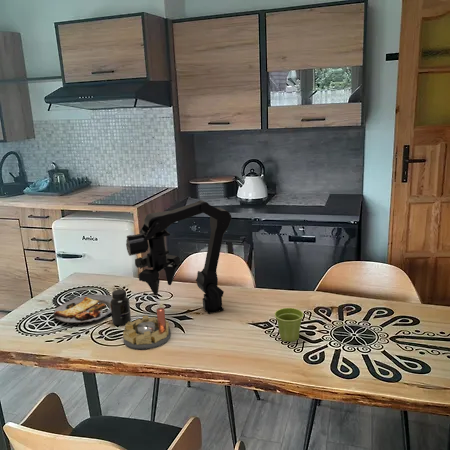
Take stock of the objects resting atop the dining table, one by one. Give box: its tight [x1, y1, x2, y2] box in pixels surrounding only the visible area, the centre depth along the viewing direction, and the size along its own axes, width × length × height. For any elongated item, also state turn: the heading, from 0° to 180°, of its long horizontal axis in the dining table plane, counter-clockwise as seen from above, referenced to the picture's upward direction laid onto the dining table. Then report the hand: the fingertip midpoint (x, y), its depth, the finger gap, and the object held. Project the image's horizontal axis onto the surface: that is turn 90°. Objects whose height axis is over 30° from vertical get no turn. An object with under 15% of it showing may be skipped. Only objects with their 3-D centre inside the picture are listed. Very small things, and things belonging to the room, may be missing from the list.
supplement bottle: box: [110, 289, 132, 327], centre depth 166 cm, size 7×7×12 cm
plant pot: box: [274, 307, 304, 343], centre depth 150 cm, size 9×9×9 cm
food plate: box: [52, 294, 113, 324], centre depth 177 cm, size 25×23×4 cm
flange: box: [122, 322, 172, 351], centre depth 155 cm, size 16×16×5 cm
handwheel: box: [122, 307, 170, 345], centre depth 154 cm, size 15×15×10 cm
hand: (162, 290), depth 163 cm, fingers open, 9 cm apart
